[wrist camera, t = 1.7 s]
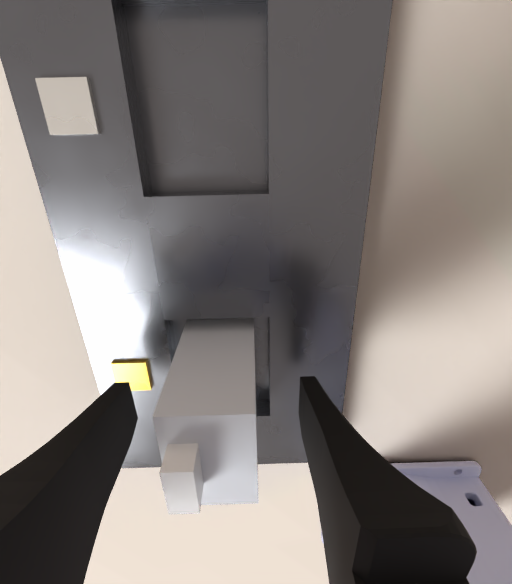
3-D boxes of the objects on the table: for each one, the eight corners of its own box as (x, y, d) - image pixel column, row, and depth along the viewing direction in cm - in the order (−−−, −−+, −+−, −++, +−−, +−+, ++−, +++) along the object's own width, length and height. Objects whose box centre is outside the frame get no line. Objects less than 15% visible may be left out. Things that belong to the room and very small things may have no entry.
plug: (253, 318, 15) (256, 441, 9) (255, 389, 17) (259, 533, 11) (186, 319, 15) (142, 444, 9) (196, 391, 17) (164, 536, 11)
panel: (393, -157, 9) (422, -216, 8) (330, 439, 19) (337, 464, 18) (-27, -148, 9) (-84, -208, 8) (131, 445, 19) (120, 471, 18)
